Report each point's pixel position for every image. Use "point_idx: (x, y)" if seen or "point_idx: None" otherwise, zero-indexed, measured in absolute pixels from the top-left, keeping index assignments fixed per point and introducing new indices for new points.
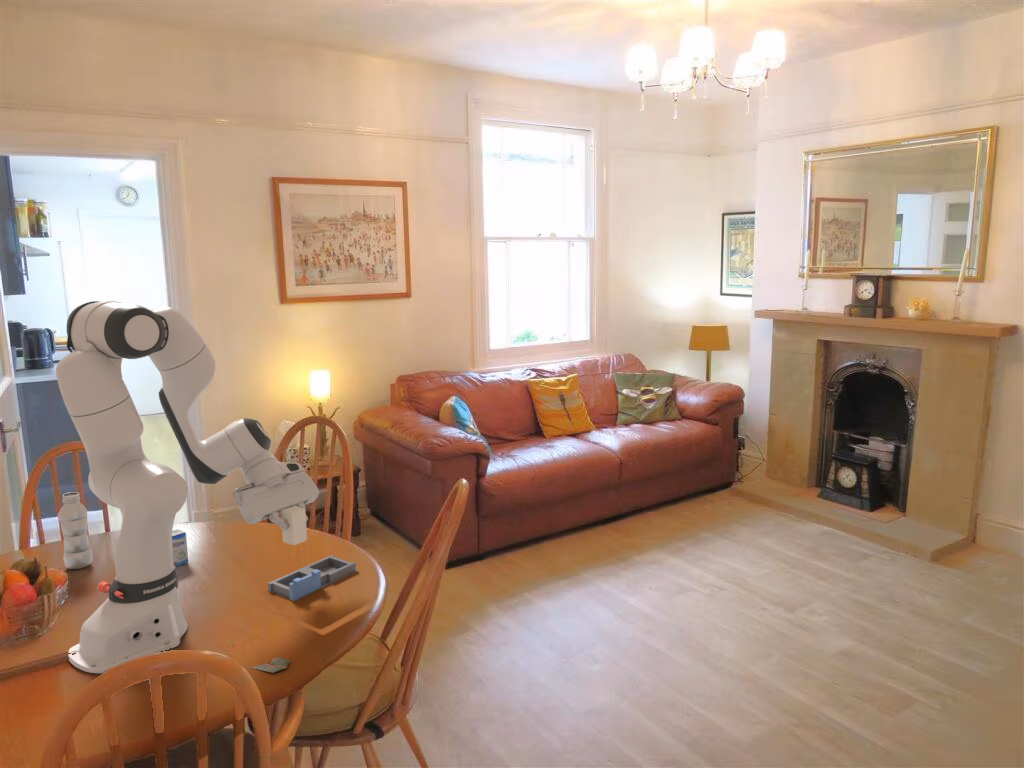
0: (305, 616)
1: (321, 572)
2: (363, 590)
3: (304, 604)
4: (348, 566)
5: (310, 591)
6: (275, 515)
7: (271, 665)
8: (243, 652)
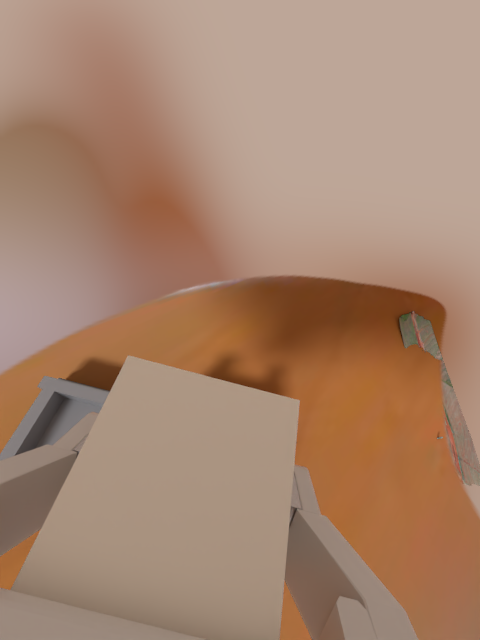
0: (287, 377)
1: None
2: (149, 328)
3: None
4: (71, 383)
5: None
6: (392, 619)
7: (419, 336)
8: (433, 403)
